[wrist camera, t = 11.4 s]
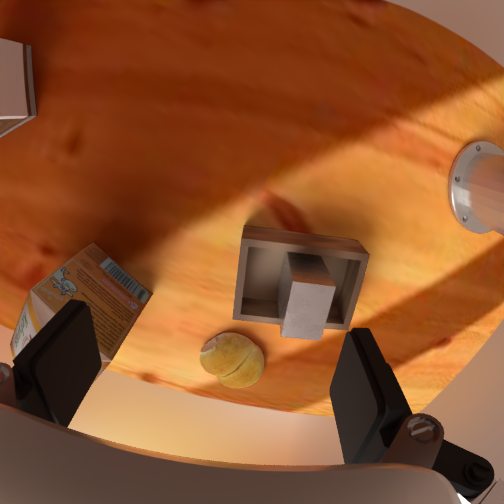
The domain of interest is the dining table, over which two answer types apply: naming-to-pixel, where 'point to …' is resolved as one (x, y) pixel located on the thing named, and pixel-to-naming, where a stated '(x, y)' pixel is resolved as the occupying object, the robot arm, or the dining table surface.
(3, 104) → the light grey boxy piece
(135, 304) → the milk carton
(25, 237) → the dining table surface
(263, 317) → the open box
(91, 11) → the dining table surface
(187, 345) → the dining table surface
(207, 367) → the bread roll
